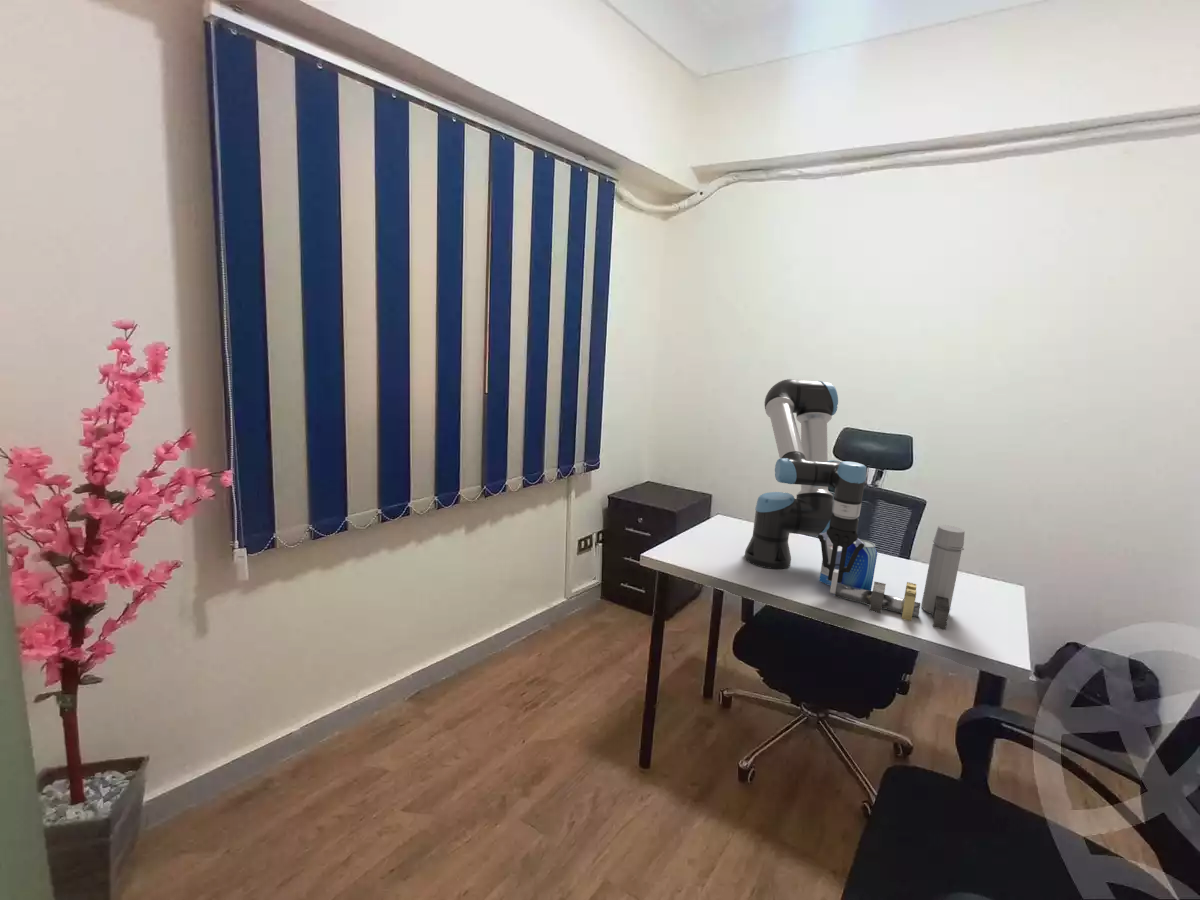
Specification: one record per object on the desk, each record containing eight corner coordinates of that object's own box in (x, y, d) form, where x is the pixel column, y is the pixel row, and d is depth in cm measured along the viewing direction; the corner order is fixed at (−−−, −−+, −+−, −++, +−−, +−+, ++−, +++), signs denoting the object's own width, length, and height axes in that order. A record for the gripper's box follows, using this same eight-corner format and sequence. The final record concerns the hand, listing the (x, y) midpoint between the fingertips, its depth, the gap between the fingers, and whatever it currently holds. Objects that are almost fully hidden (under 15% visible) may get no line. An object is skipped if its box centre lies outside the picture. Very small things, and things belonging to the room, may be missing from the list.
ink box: (832, 587, 184) (839, 542, 181) (818, 581, 188) (825, 536, 186) (848, 582, 189) (855, 538, 186) (835, 576, 193) (841, 533, 190)
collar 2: (932, 626, 162) (936, 606, 161) (932, 615, 169) (936, 595, 168) (945, 629, 161) (949, 609, 160) (944, 618, 168) (948, 598, 167)
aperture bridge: (901, 618, 166) (906, 591, 164) (902, 607, 173) (907, 582, 171) (911, 621, 165) (916, 594, 163) (911, 610, 172) (916, 584, 170)
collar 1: (869, 610, 169) (872, 590, 168) (871, 600, 177) (874, 581, 175) (880, 613, 168) (884, 593, 167) (882, 603, 175) (885, 583, 174)
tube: (834, 596, 176) (836, 583, 176) (835, 595, 179) (838, 582, 180) (918, 617, 166) (920, 603, 166) (917, 616, 169) (920, 602, 169)
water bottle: (938, 618, 167) (954, 534, 163) (914, 606, 174) (929, 525, 170) (960, 614, 171) (977, 531, 166) (935, 603, 178) (951, 523, 173)
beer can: (834, 588, 183) (842, 539, 180) (854, 585, 187) (862, 537, 184) (855, 600, 176) (864, 549, 173) (876, 597, 179) (885, 546, 176)
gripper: (819, 513, 173) (808, 590, 177) (868, 523, 167) (855, 601, 171) (823, 508, 179) (812, 581, 183) (870, 517, 173) (857, 593, 178)
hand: (833, 591), depth 177 cm, fingers closed
